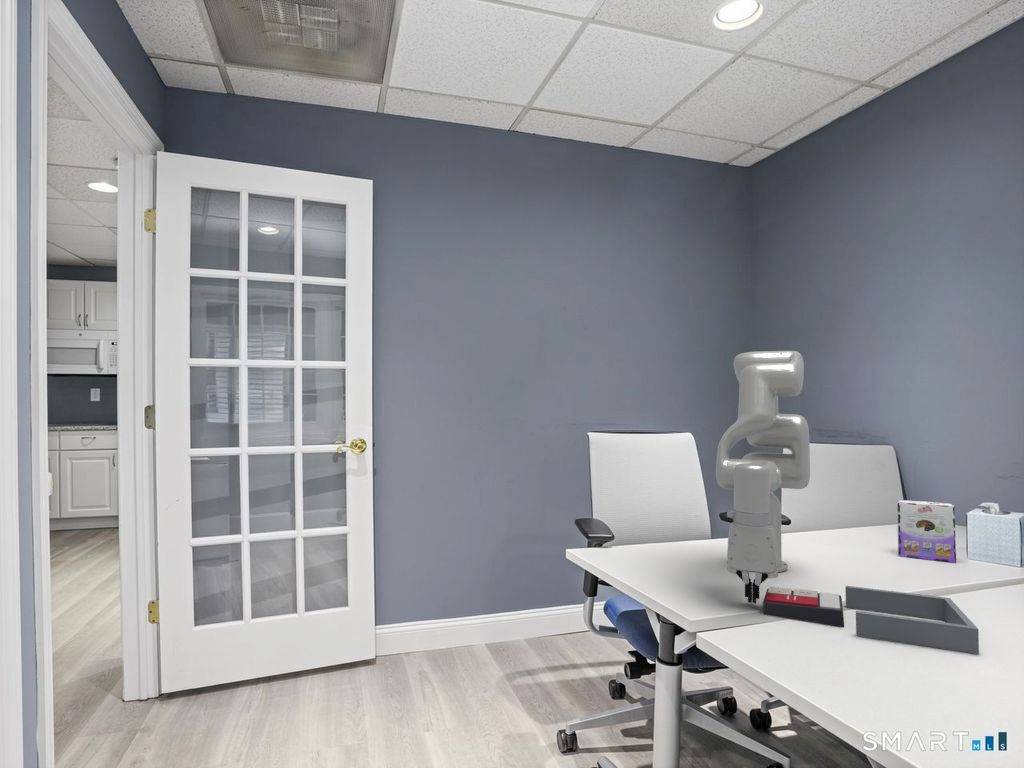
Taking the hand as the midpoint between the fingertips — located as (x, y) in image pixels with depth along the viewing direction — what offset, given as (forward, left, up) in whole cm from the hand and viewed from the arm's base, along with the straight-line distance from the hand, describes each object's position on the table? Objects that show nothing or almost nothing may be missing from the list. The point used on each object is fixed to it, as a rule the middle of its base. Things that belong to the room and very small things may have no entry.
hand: (752, 600), depth 129 cm
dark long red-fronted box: (+10, +1, -2) cm, 10 cm away
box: (+29, 0, -1) cm, 29 cm away
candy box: (+46, +66, -1) cm, 80 cm away
